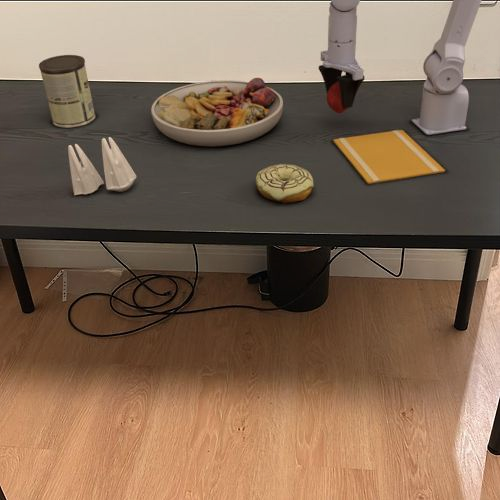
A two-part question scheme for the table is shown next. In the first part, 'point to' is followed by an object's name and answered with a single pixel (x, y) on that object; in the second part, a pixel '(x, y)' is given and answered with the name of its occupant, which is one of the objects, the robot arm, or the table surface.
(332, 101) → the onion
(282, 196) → the decorated donut
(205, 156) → the table surface
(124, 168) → the shaker set
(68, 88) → the coffee can
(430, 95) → the robot arm
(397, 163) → the towel
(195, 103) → the bowl
